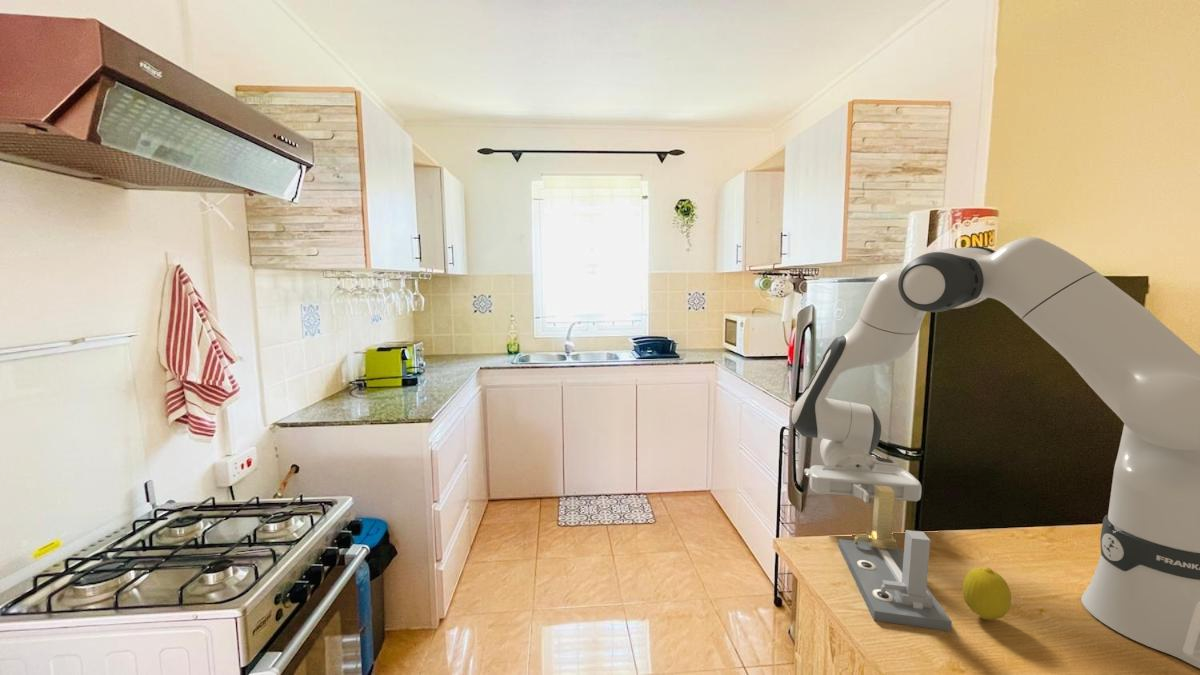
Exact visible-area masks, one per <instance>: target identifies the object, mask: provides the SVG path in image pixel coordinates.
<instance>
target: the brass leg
mask: <svg viewBox="0 0 1200 675" xmlns="http://www.w3.org/2000/svg"><path fill="white" fill-rule="evenodd" d="M894 496H895V492H894V491H893V490H892V488H891V487H890V486H878V485H875V494H874V503H873V510H872V513H873V514H872V527H871V528H872V529H871V530H866V534H860V533H855V536H854V544H856V545H858V541H863V542H869V544H870V545H871V547H876V548H885V549H894V550H896V549H897V545H898V541H897V540H896V538H895V537H894V536H893V523H894V522H893V521H894V508H895V500H894Z"/></svg>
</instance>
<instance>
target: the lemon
mask: <svg viewBox="0 0 1200 675" xmlns="http://www.w3.org/2000/svg"><path fill="white" fill-rule="evenodd" d="M1011 594H1012V593H1011V589H1010V587H1009V585H1008V583H1007V581H1006V580H1005V579H1004V577H1003V576H1002V575H1001V574H999V573H998V572H996V571H995V570H993V569H992V568H990V567H977V568H976V567H975V568H973V569H971V570H969V571H968V572H967V574H966V575H965V576H964V579H963V582H962V595H963V599H964V602H965V603H966V605H967V606H968V607H969V609H970V610H971V611H972V612H973V613H975V614H976V615H977V616H979V617H980V618H981V619H983V620H998V619H1002V618H1004V617H1005V615H1007V614H1008V612H1010V609H1011V604H1012V595H1011Z"/></svg>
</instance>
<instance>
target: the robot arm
mask: <svg viewBox="0 0 1200 675" xmlns="http://www.w3.org/2000/svg"><path fill="white" fill-rule="evenodd" d="M990 299H993V300H996V301H998V302H1000V303H1002V304H1003V305H1005V306H1006V307H1007V308H1009V310H1011V311H1012V312H1013V313H1014V314H1015V315H1016V316H1017V317H1019V319H1021V320H1022V322H1024V323H1025V324H1026V325H1027V326H1028V327H1030V328H1031V330H1033V331H1034V332H1035V333H1036V334H1037V335H1039V336H1040V337H1041V338H1042V339H1043V340H1044V341H1045V342H1047V343H1048V344H1049V345H1050V346H1051V347H1052V348H1053V349H1054V350H1055V351H1056V352H1058V353H1059V354H1060V355H1061V356H1062V357H1063V358H1064V359H1065V360H1066V361H1067V362H1068V363H1069V364H1070V365H1071V366H1072V368H1073V369H1074V370H1075V371H1076V372H1077V373H1078V374H1079V376H1080V377H1081V378H1082V380H1084V382H1085V383H1086V384H1087V385H1088V386H1089V387H1090V388H1091V390H1093V391H1094V392H1095V394H1097V396H1098V397H1099V398H1100V399H1101V401H1103V403H1104V404H1106V405H1107V407H1108V408H1109V409H1111V410H1112V412H1113V413H1115V414H1116V416H1117V417H1118V418H1119V419H1120V420H1121V421H1122V422H1123V428H1122V434H1121V437H1120V442H1119V447H1118V451H1117V456H1116V459H1115V463H1114V466H1113V467H1114V468H1113V474H1112V482H1111V491H1110V498H1109V505H1108V506H1109V507H1108V512H1107V514H1106V515H1105V516H1103V519H1102V526H1101V532H1100V538H1099V539H1100V544H1099V545H1100V556H1099V560H1098V563H1097V566H1096V569H1095V572H1094V573H1093V576H1092V578H1091V580H1090V582H1089V585H1088V586H1087V588H1086V590H1085V591H1084V592H1083V594H1082V595H1081V603H1082V605H1083V607H1084V608H1085V609H1086V610H1087V611H1088V612H1089V613H1090V614H1091V615H1092V616H1093V617H1094V618H1095V619H1097V620H1099V621H1100V622H1101V623H1103V624H1104V625H1106V626H1107V627H1109V628H1111V629H1112V630H1113V631H1115V632H1117V633H1119V634H1121V635H1122V636H1125V637H1127V638H1129V639H1131V640H1133V641H1136V642H1137V643H1140V644H1142V645H1145V646H1147V647H1149V648H1151V649H1154V650H1156V651H1160V652H1163V653H1165V654H1168V655H1170V656H1173V657H1175V658H1178V659H1180V660H1181V661H1184V662H1185V663H1188V664H1189V665H1192V666H1194V667H1196V668H1198V669H1200V354H1199V353H1198V352H1196V351H1195V350H1194V349H1193V348H1192V347H1191V346H1190V345H1188V344H1187V342H1185V341H1184V340H1182V339H1181V338H1180V337H1179V336H1177V335H1176V333H1174V332H1173V331H1172V330H1171V329H1169V328H1168V327H1167V325H1165V324H1164V322H1163V323H1162V321H1160V319H1158V318H1157V317H1156V316H1155V315H1154V314H1153V313H1152V312H1151V311H1150V310H1149V309H1147V308H1146V307H1145V306H1144V305H1142V304H1141V303H1139V302H1138V301H1137V300H1135V298H1133V297H1131V296H1130V294H1128V293H1126V292H1125V291H1123V290H1122V288H1119V286H1117V285H1115V283H1113V282H1112V281H1111V280H1109V279H1108V278H1106V277H1105V276H1104V275H1102V274H1101V273H1100V272H1099V271H1097V270H1096V269H1094V268H1093V267H1091V266H1090V265H1089V264H1088V263H1087V262H1085V261H1083V260H1081V259H1080V258H1078V257H1077V256H1075V255H1073V254H1072V253H1071V252H1069V251H1066V250H1065V249H1063V248H1061V247H1060V246H1057V245H1055V243H1051V242H1050V241H1047V240H1045V239H1042V238H1040V237H1036V236H1035V237H1034V236H1027V237H1021V238H1017V239H1015V240H1012V241H1010V242H1008V243H1006V244H1004V245H1001V247H999V248H998V249H996V250H995V249H992V248H989V247H985V246H979V245H978V246H977V245H976V246H974V245H972V246H966V247H951V248H945V249H941V250H936V251H934V252H927V253H924V254H922V255H919V256H917V257H916V258H914V259H912V260H911V261H910V262H909V263H908V264H906V265H905V267H904V268H903V269H893V270H889V271H886V272H884V273H882V274H881V275H880V276H878V278H877V279H876V280H875V281H874V284H873V285H872V287H871V289H870V291H869V292H868V295H867V297H866V299H865V301H864V302H863V306H862V308H861V311H860V314H859V316H858V318H857V321H856V323H854V325H853V327H851V328H850V330H848V331H847V332H846V333H845V334H844V335H840V336H838V337H835V338H834V340H832V342H831V343H830V345H829V346H828V348H827V349H826V351H825V353H824V354H823V356H822V357H821V359H820V361H819V363H818V364H817V367H816V369H815V371H814V372H813V374H812V376H811V378H810V379H809V382H808V383H807V385H806V386H805V388H804V390H803V391H802V393H801V394H800V396H799V397H798V398H797V400H796V401H795V403H794V405H793V408H792V411H791V425H792V426H793V428H794V429H795V430H796V431H797V433H799V434H800V435H801V436H802V437H806V438H814V439H818V438H819V439H821V441H820V445H819V453H820V457H821V460H822V462H823V464H814V465H812V466H810V467H809V468H804V470H803V472H804V475H805V476H806V477H808V478H809V487H810V490H811V491H812V492H814V493H816V494H825V495H838V496H848V497H849V496H850V497H856V498H858V499H860V500H863V502H864V503H865V504H874V494H875V485H878V486H890V487H891V488H892V490H893V491H894V492H895V496H894V501H906V502H918V501H920V500H921V498H922V484H921V482H920V481H919V480H918V478H916V477H915V476H914V475H913V474H912V473H910V472H909V471H908V470H906V469H904V468H901V467H900V462H899V461H897V460H893V459H890V458H889V459H888V458H883V457H880V456H879V457H878V456H875V455H871V454H872V453H873V452H874V451H875V450H876V449H877V447H878V444H879V443H880V439H881V434H882V422H881V420H880V418H879V417H878V414H877V412H876V411H875V409H874V408H872V407H871V405H869V404H868V405H867V404H863V403H857V402H852V401H845V400H840V399H834V398H830V397H829V398H828V397H827V396H828V395H829V393H830V391H831V389H832V388H833V387H834V384H835V383H836V381H837V379H838V378H839V376H841V375H842V374H843V373H845V372H846V371H850V370H852V369H856V368H861V367H868V366H876V365H884V364H888V363H892V362H894V361H896V360H899V359H901V358H902V357H905V356H906V354H907V353H909V351H910V350H911V348H912V346H913V345H914V343H915V341H916V338H917V336H918V333H919V332H920V328H921V325H922V323H923V321H924V319H925V316H926V314H927V313H941V312H945V311H950V310H954V309H962V308H963V309H964V308H967V307H971V306H974V305H976V304H978V303H981V302H985V301H988V300H990Z"/></svg>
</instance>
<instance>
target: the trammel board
mask: <svg viewBox="0 0 1200 675" xmlns="http://www.w3.org/2000/svg"><path fill="white" fill-rule="evenodd" d="M903 544H904V548H903V550H902V549H901V547H900V546H899V545H898V544H897V549H896V550H894V549H885V548H876V547H871V545H870V544H869V542H864V541H858V545H856V544H854V540H852V539H851V540H850V539H845V538H844V539H842V538H838V549H839V550H840V552H841V555H842V557H843V559H844V560H845V564H846V565H847V567H848V569H849V572H850V573H851V575H852V577H853V580H854V582H855V584H856V586H857V587H858V590H859V593H860V594H861V596H862V598H863V600H864V603H865V605H866V607H867V609H868V611H869V614H870V615H871V616H872V619H873V621H877V622H885V623H890V624H899V625H906V626H912V627H919V628H926V629H933V630H940V631H945V632H946V631H947V632H951V631H952V624H953V622H952V620H951V619H950V617H949V616H948V614H947V613H946V612H945V610H944V609H943V607H942V605H941V604H940V603H939V601H938V600H937V599H936V597H935V596H934V594H933V593H932V592H931V590H930V589H929V587H928V586H927V585H928V573H929V562H930V549H931V539H930V538H929V537H928V535H927V534H926V533H925V532H924V531H921V530H909V529H905V532H904V543H903Z"/></svg>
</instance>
